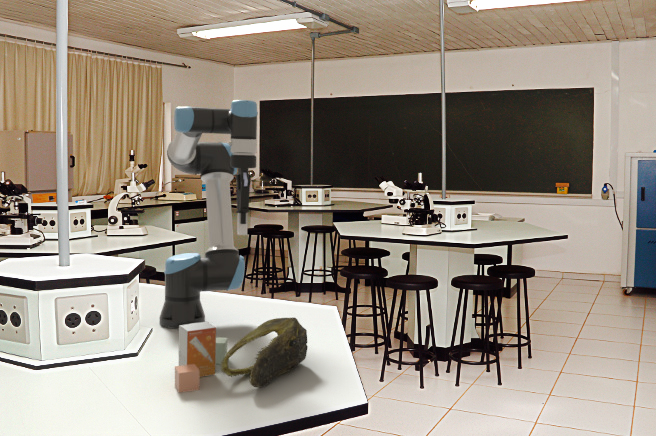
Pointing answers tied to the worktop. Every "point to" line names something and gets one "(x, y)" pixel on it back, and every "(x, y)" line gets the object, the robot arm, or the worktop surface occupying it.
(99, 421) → the worktop surface
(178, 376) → the terracotta cube
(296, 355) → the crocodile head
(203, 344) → the small box
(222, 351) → the sage block
